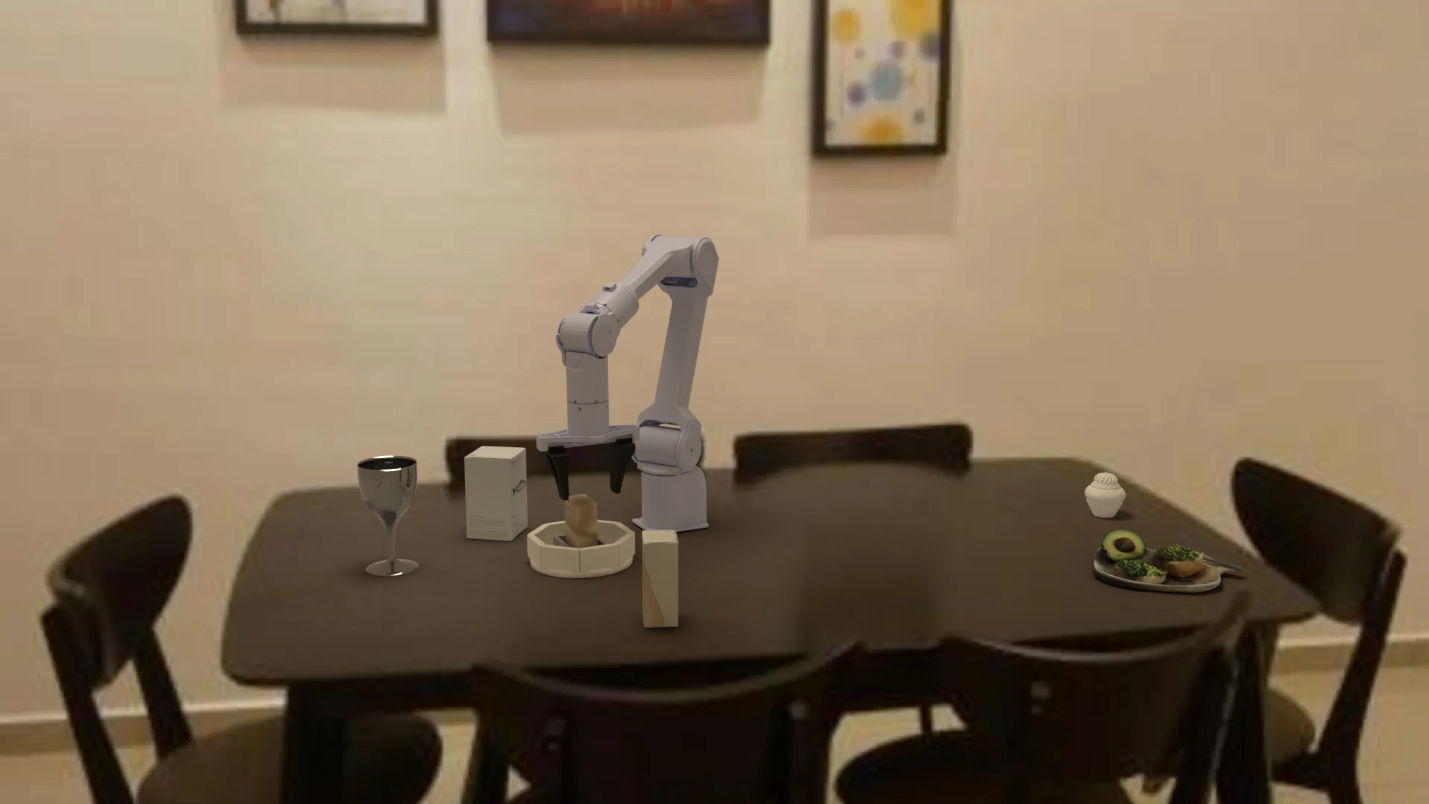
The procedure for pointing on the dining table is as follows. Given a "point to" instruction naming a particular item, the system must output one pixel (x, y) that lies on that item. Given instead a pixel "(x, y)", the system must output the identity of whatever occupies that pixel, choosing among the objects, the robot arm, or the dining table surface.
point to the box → (660, 578)
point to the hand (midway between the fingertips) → (590, 495)
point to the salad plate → (1155, 565)
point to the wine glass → (389, 502)
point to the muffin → (1105, 495)
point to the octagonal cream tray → (581, 551)
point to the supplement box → (496, 493)
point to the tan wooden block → (580, 521)
